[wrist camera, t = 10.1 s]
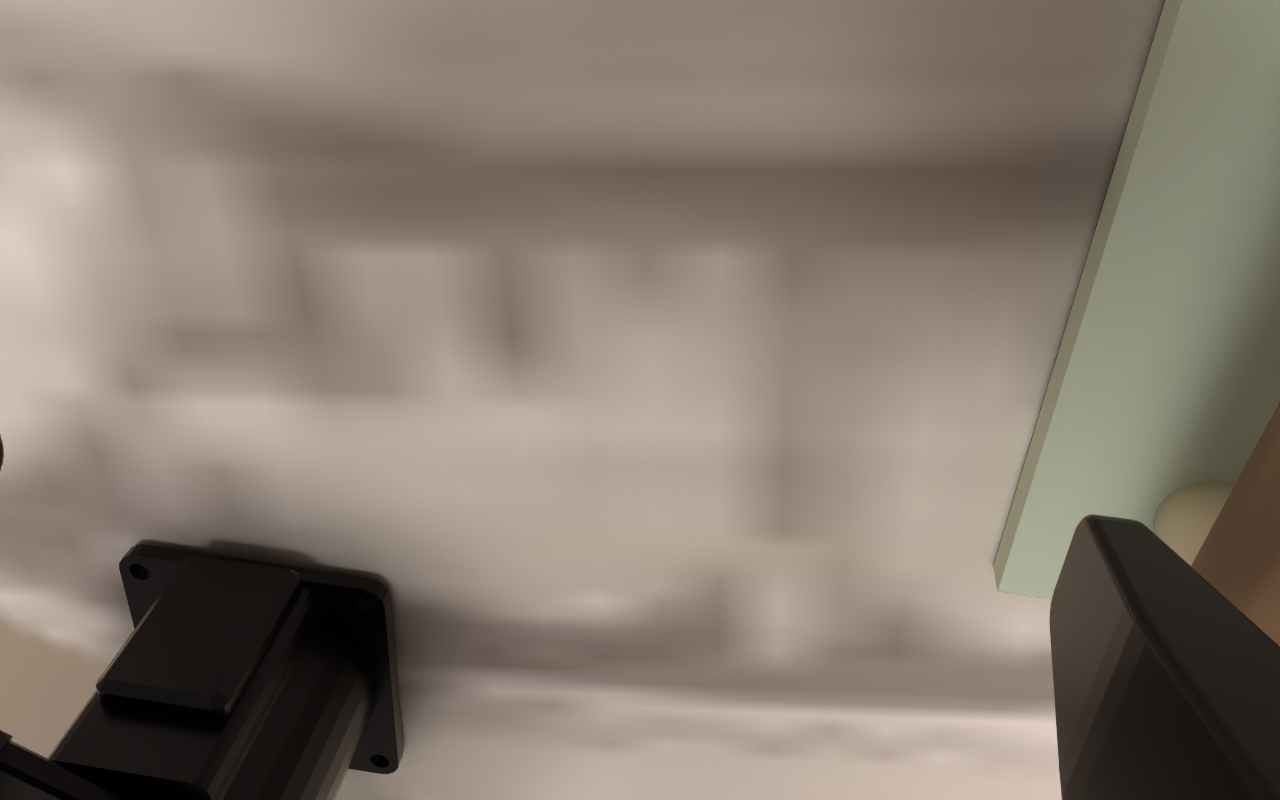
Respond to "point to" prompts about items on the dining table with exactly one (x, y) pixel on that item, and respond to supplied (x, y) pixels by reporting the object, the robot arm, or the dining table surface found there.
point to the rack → (1167, 305)
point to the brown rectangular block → (1250, 538)
